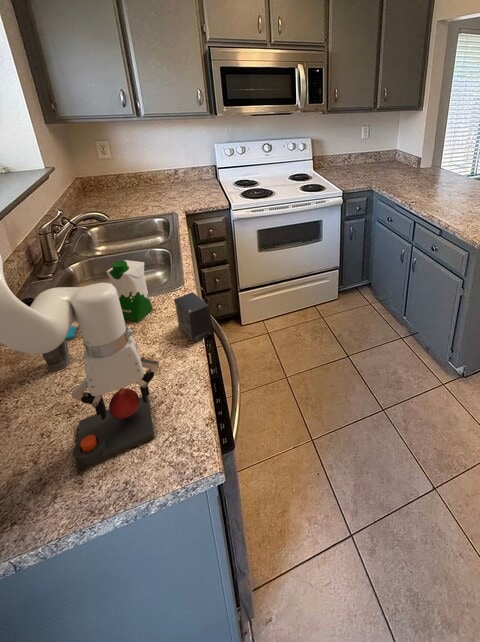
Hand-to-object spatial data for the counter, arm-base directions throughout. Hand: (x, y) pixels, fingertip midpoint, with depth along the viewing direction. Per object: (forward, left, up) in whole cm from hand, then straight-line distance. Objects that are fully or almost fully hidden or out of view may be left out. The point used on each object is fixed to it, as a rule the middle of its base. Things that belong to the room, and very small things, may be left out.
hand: (124, 405), depth 79 cm
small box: (+20, +24, -5) cm, 32 cm away
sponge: (-18, +43, -5) cm, 47 cm away
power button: (-7, -5, -2) cm, 9 cm away
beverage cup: (-15, +29, -5) cm, 34 cm away
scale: (-2, -2, -5) cm, 5 cm away
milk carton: (+5, +43, -5) cm, 44 cm away
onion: (0, 0, -3) cm, 3 cm away
